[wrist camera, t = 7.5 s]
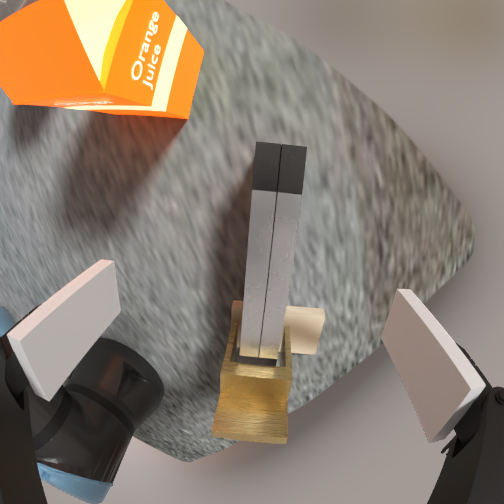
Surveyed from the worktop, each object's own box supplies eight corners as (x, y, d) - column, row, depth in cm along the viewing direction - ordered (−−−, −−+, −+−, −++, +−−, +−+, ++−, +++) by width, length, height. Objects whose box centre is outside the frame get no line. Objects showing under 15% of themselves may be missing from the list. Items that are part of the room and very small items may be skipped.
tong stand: (313, 346, 32) (319, 384, 26) (231, 338, 32) (222, 376, 26) (323, 308, 30) (332, 344, 24) (233, 300, 30) (223, 335, 24)
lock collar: (284, 352, 28) (285, 443, 17) (232, 346, 28) (212, 436, 17) (289, 325, 27) (293, 420, 16) (233, 320, 27) (210, 411, 16)
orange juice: (188, 120, 24) (26, 80, 5) (113, 115, 24) (-50, 108, 5) (205, 49, 21) (99, -72, 3) (129, 50, 21) (-8, -11, 3)
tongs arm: (277, 303, 30) (277, 359, 21) (263, 302, 30) (258, 357, 21) (295, 149, 24) (306, 147, 16) (279, 148, 24) (282, 144, 16)
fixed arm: (263, 300, 30) (258, 357, 21) (249, 299, 30) (239, 355, 21) (278, 148, 24) (280, 144, 16) (262, 146, 25) (256, 141, 16)
